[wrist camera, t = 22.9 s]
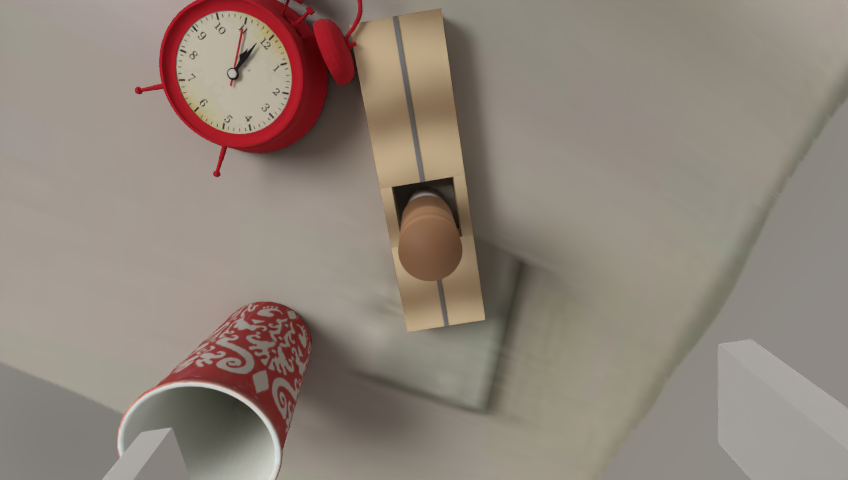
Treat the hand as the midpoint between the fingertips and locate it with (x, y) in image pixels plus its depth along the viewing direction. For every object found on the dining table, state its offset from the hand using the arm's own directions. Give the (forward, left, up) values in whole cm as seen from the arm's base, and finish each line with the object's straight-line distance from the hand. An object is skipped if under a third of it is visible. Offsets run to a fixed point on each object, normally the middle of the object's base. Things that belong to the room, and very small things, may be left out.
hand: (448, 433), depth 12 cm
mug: (+10, -16, -27) cm, 33 cm away
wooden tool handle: (0, 0, -27) cm, 27 cm away
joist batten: (-2, 0, -27) cm, 27 cm away
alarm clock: (-12, -9, -26) cm, 30 cm away
